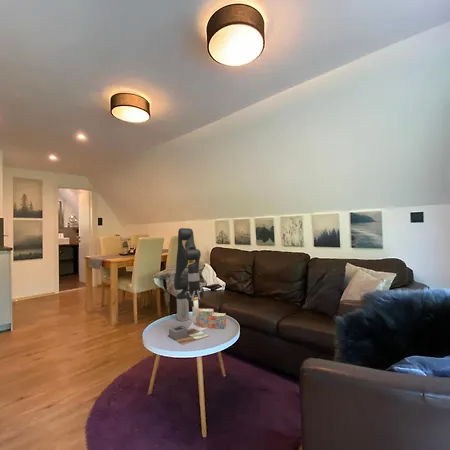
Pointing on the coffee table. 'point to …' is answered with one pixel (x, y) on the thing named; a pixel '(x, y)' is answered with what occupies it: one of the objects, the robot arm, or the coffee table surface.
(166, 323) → the coffee table surface
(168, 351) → the coffee table surface
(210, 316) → the stack of blocks
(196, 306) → the plug
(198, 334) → the base board
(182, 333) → the grey square frame
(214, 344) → the coffee table surface
